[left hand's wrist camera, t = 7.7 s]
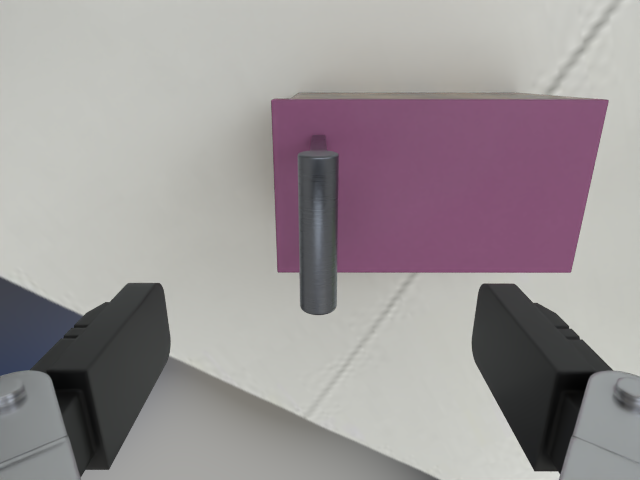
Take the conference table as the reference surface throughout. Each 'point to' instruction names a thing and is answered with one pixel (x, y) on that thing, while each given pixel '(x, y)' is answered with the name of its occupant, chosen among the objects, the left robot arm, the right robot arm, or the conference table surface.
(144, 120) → the conference table surface
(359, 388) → the conference table surface
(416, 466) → the conference table surface
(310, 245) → the lid
